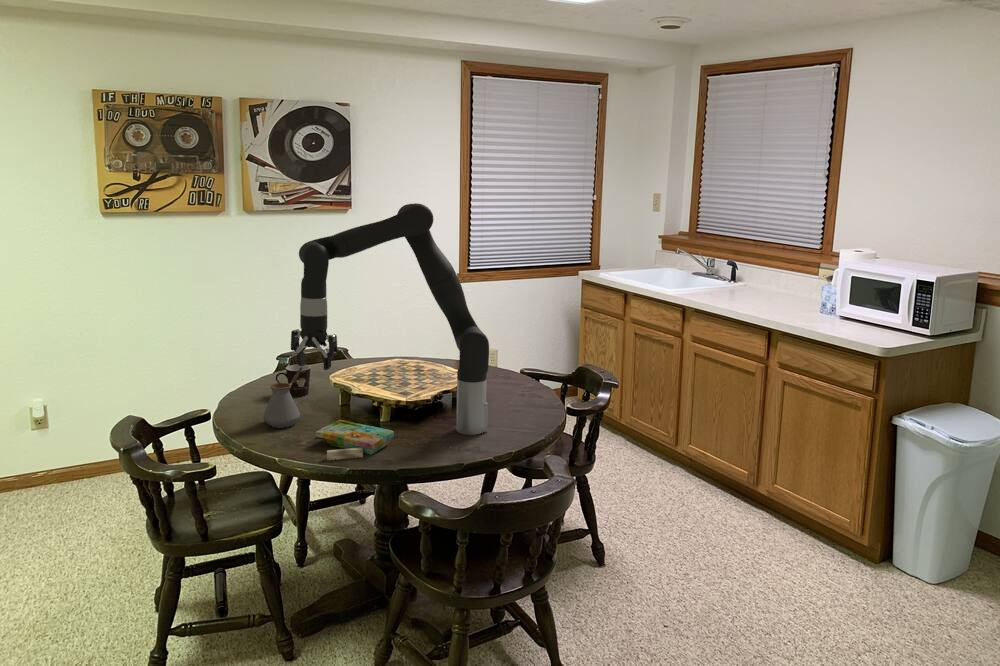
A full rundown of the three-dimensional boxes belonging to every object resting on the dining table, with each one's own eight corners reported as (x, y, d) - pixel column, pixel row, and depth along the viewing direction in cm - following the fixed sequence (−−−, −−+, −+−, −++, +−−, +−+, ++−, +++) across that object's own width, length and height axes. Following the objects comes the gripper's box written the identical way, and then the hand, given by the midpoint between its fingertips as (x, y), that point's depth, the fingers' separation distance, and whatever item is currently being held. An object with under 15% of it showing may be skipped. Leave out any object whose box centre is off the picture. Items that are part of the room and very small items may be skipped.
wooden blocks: (354, 433, 241) (354, 425, 240) (362, 457, 222) (362, 448, 221) (321, 435, 238) (321, 427, 237) (327, 460, 219) (327, 452, 218)
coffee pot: (290, 431, 240) (288, 385, 237) (256, 428, 243) (254, 382, 239) (319, 410, 261) (318, 368, 257) (288, 407, 263) (286, 365, 260)
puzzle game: (371, 442, 221) (315, 429, 229) (372, 457, 222) (315, 443, 230) (394, 428, 231) (339, 416, 239) (394, 443, 232) (339, 431, 240)
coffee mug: (313, 391, 282) (312, 364, 280) (308, 398, 274) (307, 371, 272) (281, 390, 282) (280, 364, 279) (275, 397, 273) (274, 370, 271)
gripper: (342, 313, 220) (342, 367, 224) (300, 307, 225) (300, 361, 229) (327, 317, 214) (327, 374, 217) (284, 311, 218) (285, 367, 222)
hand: (314, 367), depth 223 cm, fingers open, 8 cm apart
